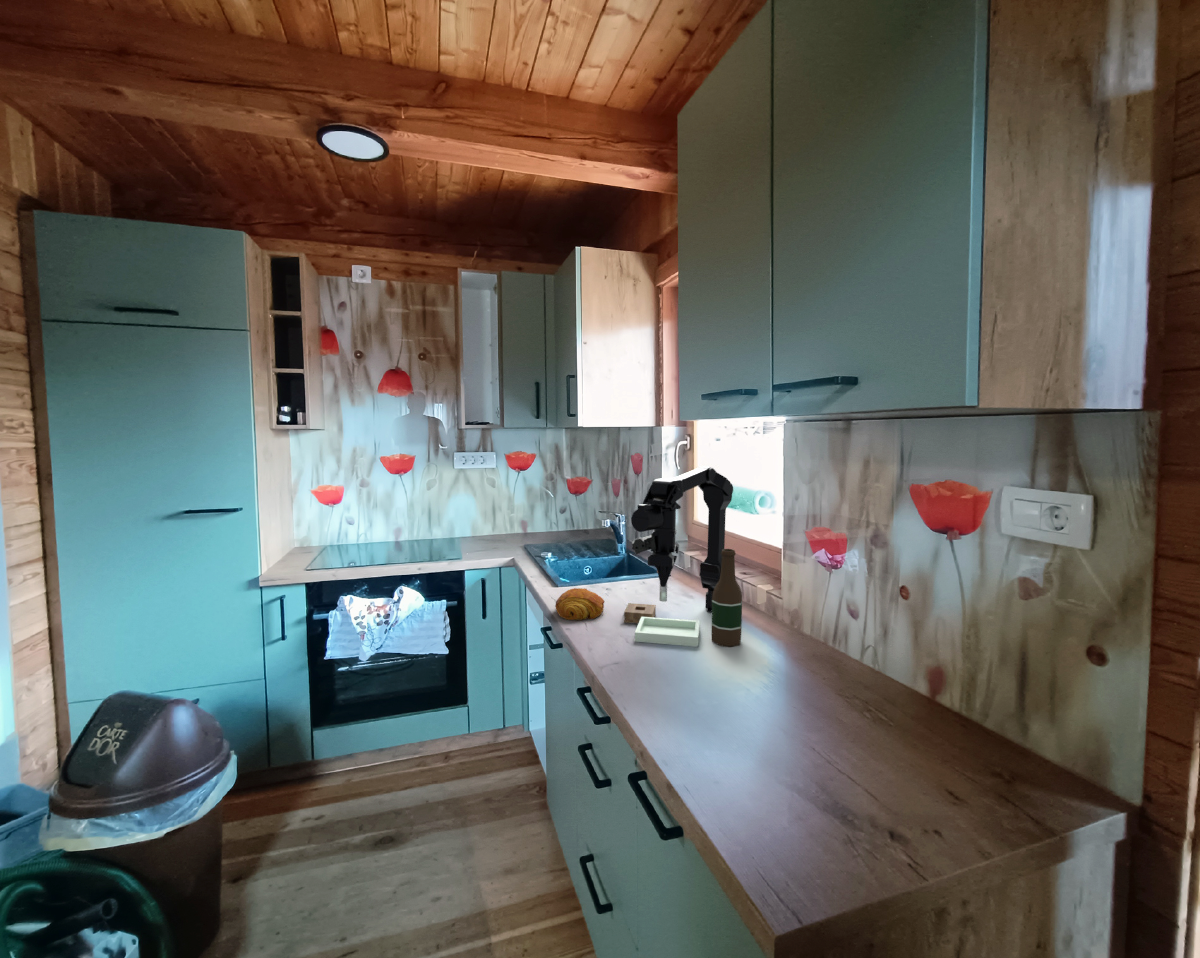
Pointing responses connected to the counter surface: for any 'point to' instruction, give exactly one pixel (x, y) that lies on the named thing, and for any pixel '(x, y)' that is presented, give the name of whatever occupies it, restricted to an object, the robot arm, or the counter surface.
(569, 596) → the croissant
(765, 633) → the counter surface
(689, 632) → the tray
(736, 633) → the beer bottle
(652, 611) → the block
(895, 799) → the counter surface
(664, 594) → the pin
